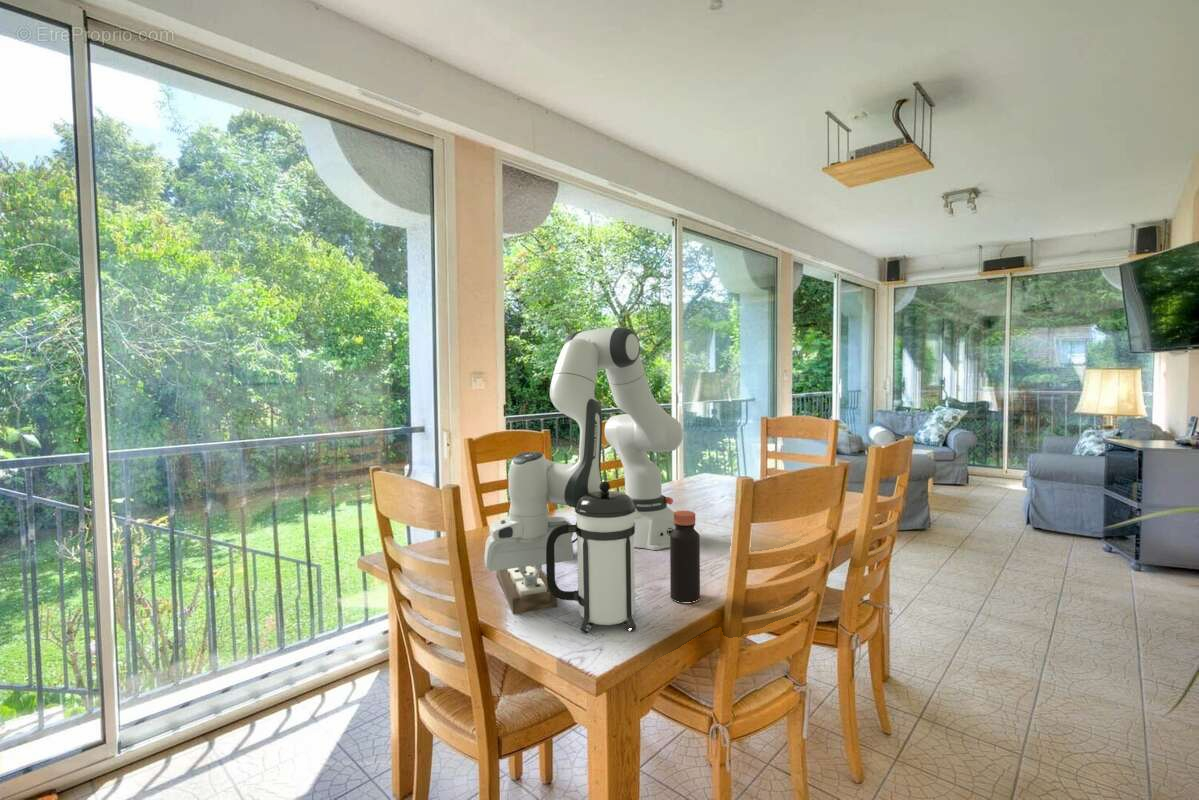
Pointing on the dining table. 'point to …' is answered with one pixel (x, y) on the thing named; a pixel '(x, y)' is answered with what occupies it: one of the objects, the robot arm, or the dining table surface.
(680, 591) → the bottle
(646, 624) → the dining table surface
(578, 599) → the coffee press
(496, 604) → the dining table surface
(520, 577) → the three dot tile
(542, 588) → the two dot tile
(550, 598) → the tile board
